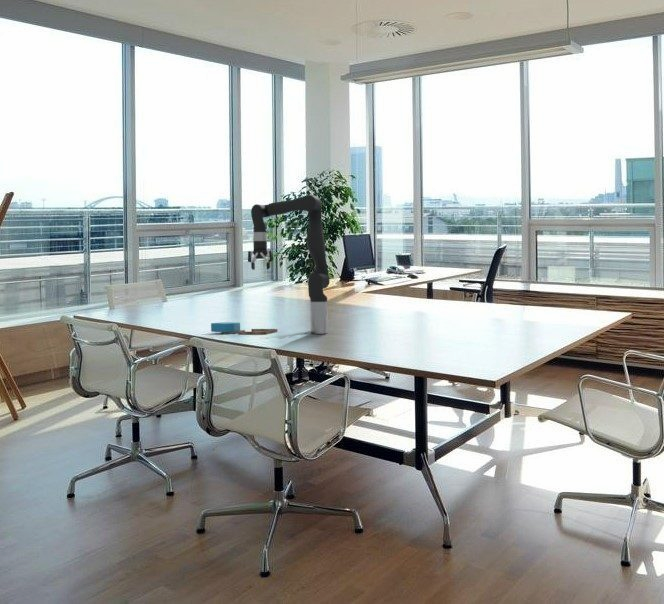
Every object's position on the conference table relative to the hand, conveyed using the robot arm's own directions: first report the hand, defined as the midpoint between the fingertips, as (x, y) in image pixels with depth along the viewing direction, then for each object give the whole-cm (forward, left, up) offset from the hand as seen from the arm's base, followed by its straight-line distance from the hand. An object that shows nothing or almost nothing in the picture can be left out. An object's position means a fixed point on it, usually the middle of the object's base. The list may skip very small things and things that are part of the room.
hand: (260, 269), depth 411 cm
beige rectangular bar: (-8, +19, -35) cm, 40 cm away
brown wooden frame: (-5, +20, -34) cm, 40 cm away
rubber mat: (+9, +20, -34) cm, 41 cm away
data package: (+18, +19, -31) cm, 40 cm away
